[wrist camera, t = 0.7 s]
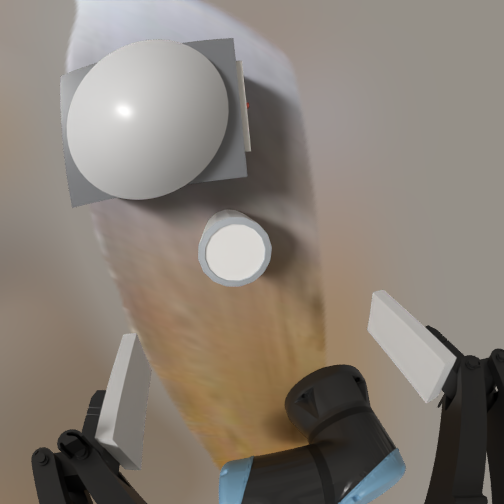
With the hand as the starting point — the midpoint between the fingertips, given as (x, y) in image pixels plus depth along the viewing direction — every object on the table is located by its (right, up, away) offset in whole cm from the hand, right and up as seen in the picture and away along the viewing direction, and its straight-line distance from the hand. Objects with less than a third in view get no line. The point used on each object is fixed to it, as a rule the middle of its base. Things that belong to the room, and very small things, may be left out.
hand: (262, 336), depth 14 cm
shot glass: (-3, +7, +18) cm, 20 cm away
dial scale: (-10, +18, +13) cm, 24 cm away
